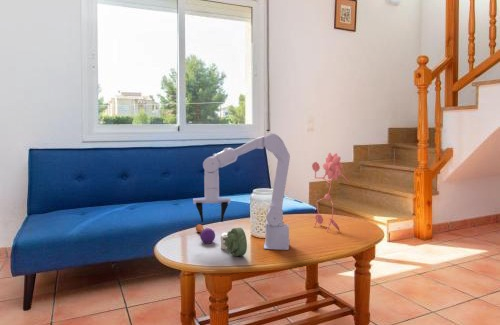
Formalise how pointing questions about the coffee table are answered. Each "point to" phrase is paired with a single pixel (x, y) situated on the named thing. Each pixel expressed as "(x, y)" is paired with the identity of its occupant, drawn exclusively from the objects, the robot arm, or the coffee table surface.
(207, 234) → the kendama
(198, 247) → the coffee table surface
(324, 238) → the coffee table surface
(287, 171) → the robot arm
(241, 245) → the decorative artifact
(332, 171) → the figurine
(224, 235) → the letter cube
